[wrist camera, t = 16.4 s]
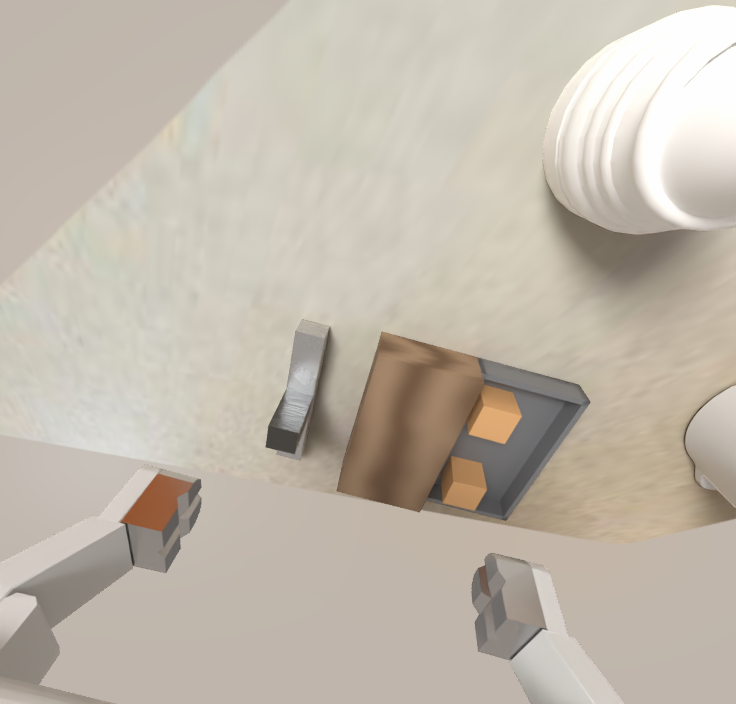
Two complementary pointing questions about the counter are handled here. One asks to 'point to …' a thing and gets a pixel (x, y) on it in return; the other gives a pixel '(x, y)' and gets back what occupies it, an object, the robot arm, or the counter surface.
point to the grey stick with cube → (299, 391)
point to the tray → (518, 436)
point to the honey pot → (651, 129)
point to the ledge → (408, 421)
